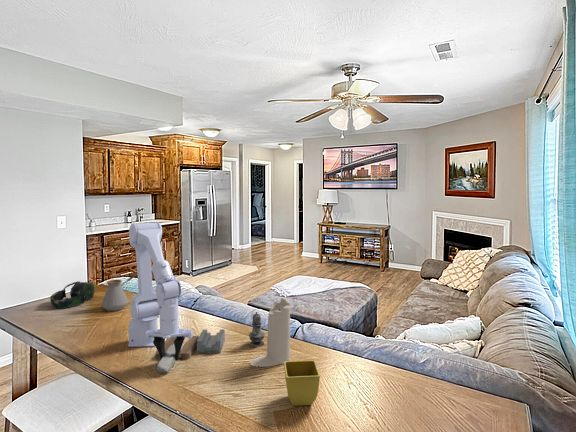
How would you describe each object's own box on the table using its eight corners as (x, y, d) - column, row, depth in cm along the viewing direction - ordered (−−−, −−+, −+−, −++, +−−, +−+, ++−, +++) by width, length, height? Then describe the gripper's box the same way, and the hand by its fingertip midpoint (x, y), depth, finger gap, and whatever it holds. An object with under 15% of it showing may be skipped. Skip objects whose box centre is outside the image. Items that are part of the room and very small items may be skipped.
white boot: (246, 360, 120) (245, 300, 118) (284, 352, 125) (284, 295, 123) (252, 370, 113) (252, 307, 111) (293, 361, 118) (293, 301, 117)
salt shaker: (262, 348, 128) (262, 315, 127) (246, 346, 130) (246, 313, 128) (266, 341, 134) (266, 309, 133) (251, 339, 135) (251, 308, 134)
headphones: (72, 284, 188) (39, 302, 169) (85, 268, 184) (53, 285, 165) (91, 302, 188) (60, 322, 169) (104, 287, 184) (74, 305, 165)
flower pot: (283, 391, 101) (283, 360, 100) (314, 390, 102) (314, 359, 101) (286, 411, 93) (286, 377, 92) (320, 409, 93) (320, 376, 93)
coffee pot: (112, 314, 161) (111, 281, 160) (95, 310, 167) (94, 278, 165) (150, 301, 180) (150, 271, 179) (135, 297, 185) (134, 268, 184)
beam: (156, 359, 120) (156, 353, 120) (169, 340, 134) (168, 336, 134) (189, 358, 120) (189, 353, 120) (199, 340, 134) (198, 335, 134)
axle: (170, 374, 111) (170, 361, 110) (156, 373, 111) (157, 361, 110) (180, 355, 123) (181, 344, 122) (168, 355, 122) (169, 343, 122)
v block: (196, 353, 124) (196, 341, 124) (203, 340, 134) (202, 329, 134) (220, 352, 125) (220, 341, 124) (224, 340, 134) (224, 329, 134)
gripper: (141, 322, 112) (142, 365, 113) (188, 322, 112) (189, 364, 113) (149, 314, 119) (150, 354, 120) (194, 314, 119) (194, 354, 120)
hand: (170, 359), depth 117 cm, fingers closed on axle, 4 cm apart
